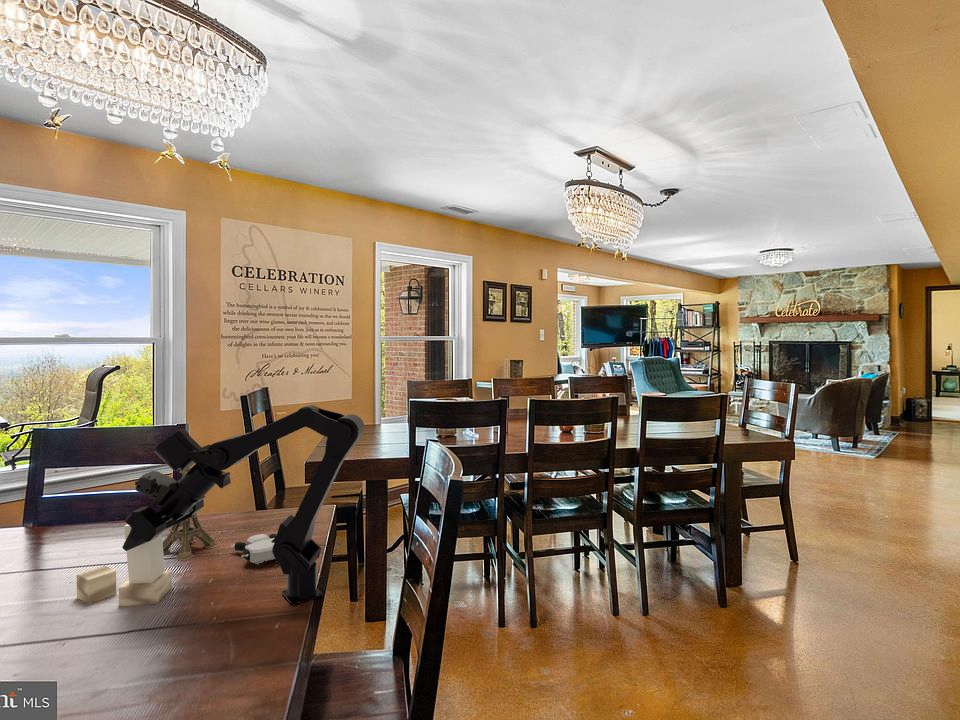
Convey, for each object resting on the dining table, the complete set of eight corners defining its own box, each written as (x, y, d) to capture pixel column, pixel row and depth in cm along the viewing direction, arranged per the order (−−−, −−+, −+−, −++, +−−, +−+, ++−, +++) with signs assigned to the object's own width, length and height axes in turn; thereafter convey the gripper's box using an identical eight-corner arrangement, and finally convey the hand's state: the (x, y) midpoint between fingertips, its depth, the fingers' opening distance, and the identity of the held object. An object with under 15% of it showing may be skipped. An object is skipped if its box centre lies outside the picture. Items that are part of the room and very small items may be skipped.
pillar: (164, 571, 110) (160, 516, 108) (151, 583, 105) (147, 525, 104) (143, 571, 109) (138, 516, 108) (129, 583, 105) (124, 526, 104)
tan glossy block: (171, 588, 111) (171, 570, 111) (157, 604, 104) (157, 585, 104) (135, 591, 110) (135, 572, 110) (118, 607, 103) (118, 587, 103)
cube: (116, 594, 108) (116, 570, 108) (88, 604, 104) (88, 579, 104) (104, 588, 111) (104, 565, 111) (76, 598, 107) (76, 574, 106)
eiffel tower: (184, 561, 125) (183, 457, 124) (151, 555, 128) (150, 454, 128) (219, 545, 135) (218, 449, 134) (188, 540, 138) (187, 446, 138)
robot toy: (227, 557, 130) (248, 572, 118) (227, 539, 130) (247, 552, 119) (277, 545, 138) (301, 558, 127) (276, 527, 138) (300, 539, 127)
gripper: (189, 450, 116) (139, 499, 116) (134, 469, 97) (76, 528, 97) (225, 485, 116) (176, 534, 116) (178, 511, 98) (119, 570, 98)
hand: (139, 540), depth 107 cm, fingers open, 9 cm apart
